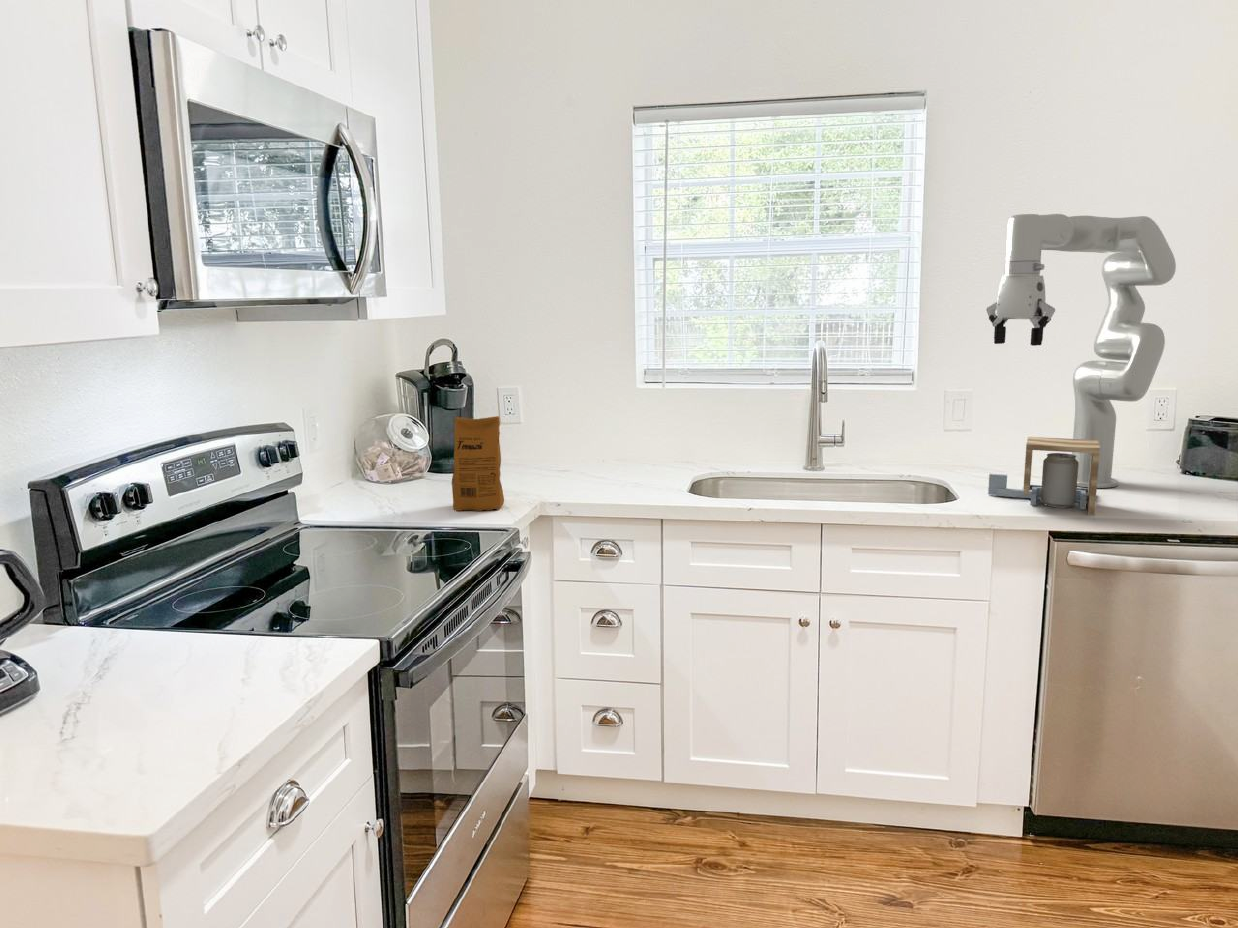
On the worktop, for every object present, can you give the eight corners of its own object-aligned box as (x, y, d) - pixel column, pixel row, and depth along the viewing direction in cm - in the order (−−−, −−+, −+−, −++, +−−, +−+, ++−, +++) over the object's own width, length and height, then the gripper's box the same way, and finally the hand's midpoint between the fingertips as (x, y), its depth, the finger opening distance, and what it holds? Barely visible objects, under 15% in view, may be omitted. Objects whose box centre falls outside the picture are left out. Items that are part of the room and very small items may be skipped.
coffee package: (456, 502, 230) (452, 414, 226) (506, 502, 230) (503, 413, 226) (448, 512, 220) (444, 419, 216) (501, 511, 220) (498, 419, 216)
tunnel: (1023, 498, 226) (1028, 436, 223) (1092, 504, 220) (1097, 440, 217) (1022, 509, 215) (1026, 444, 212) (1094, 515, 209) (1099, 448, 206)
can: (1079, 508, 215) (1083, 457, 213) (1044, 507, 217) (1048, 456, 214) (1070, 501, 222) (1074, 451, 220) (1037, 500, 224) (1040, 451, 222)
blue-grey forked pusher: (988, 493, 231) (989, 473, 230) (1084, 500, 222) (1086, 479, 221) (985, 501, 222) (987, 480, 221) (1085, 509, 214) (1087, 487, 213)
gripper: (1066, 268, 210) (1061, 345, 213) (1000, 270, 225) (995, 342, 228) (1046, 268, 206) (1040, 346, 210) (979, 270, 221) (975, 343, 224)
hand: (1017, 344), depth 219 cm, fingers open, 9 cm apart
